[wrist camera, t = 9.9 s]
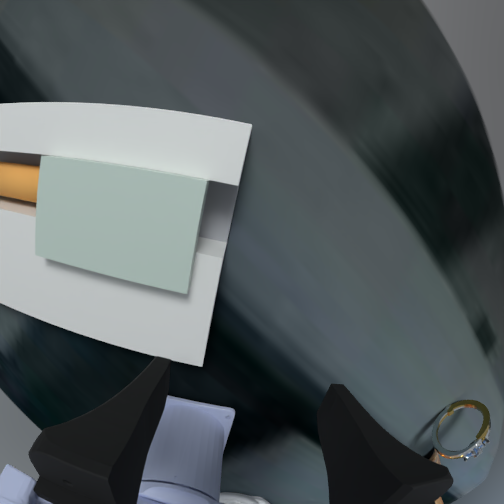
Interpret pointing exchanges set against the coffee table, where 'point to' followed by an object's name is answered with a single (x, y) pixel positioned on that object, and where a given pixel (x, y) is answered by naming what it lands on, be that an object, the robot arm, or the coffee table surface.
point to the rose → (240, 499)
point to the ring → (477, 444)
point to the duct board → (104, 286)
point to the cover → (120, 220)
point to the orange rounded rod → (19, 181)
